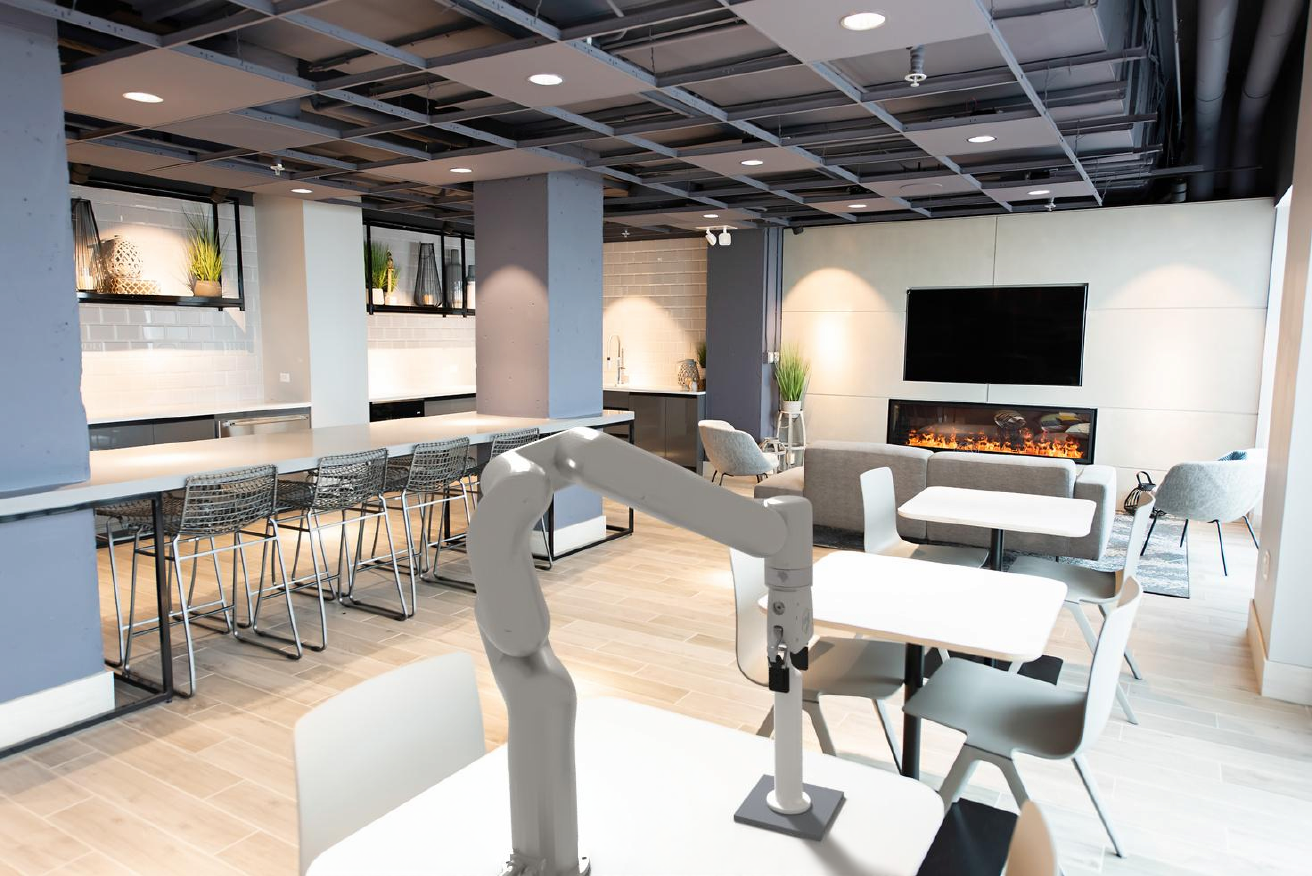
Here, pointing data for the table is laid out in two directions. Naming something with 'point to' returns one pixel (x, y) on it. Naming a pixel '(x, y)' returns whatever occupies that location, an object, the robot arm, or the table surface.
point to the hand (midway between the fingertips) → (789, 679)
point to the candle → (788, 750)
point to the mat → (797, 824)
